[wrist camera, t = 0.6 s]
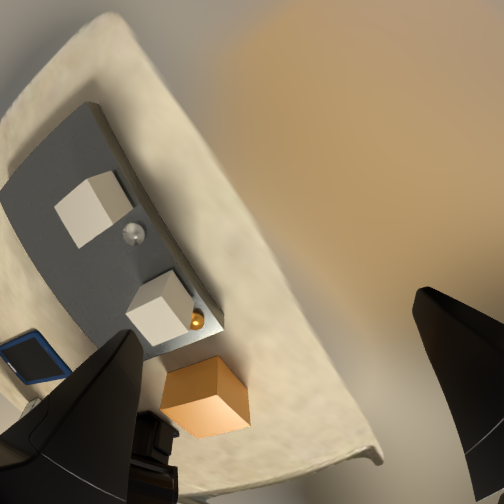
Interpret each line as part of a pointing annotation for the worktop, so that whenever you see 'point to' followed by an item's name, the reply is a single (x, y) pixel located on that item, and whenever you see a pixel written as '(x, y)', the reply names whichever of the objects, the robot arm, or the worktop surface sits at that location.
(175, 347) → the panel
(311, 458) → the worktop surface
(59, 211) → the block
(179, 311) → the light grey block
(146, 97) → the worktop surface
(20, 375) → the cell phone
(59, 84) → the worktop surface
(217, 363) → the orange squarish block
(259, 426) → the worktop surface
